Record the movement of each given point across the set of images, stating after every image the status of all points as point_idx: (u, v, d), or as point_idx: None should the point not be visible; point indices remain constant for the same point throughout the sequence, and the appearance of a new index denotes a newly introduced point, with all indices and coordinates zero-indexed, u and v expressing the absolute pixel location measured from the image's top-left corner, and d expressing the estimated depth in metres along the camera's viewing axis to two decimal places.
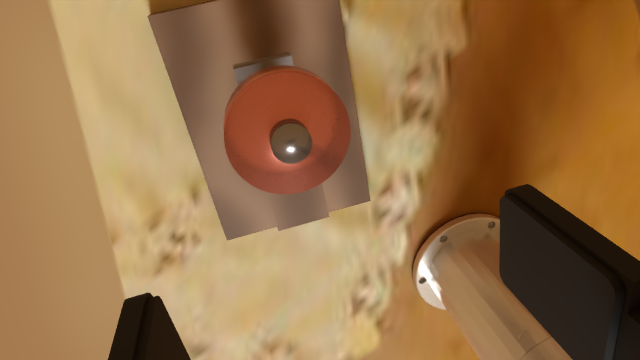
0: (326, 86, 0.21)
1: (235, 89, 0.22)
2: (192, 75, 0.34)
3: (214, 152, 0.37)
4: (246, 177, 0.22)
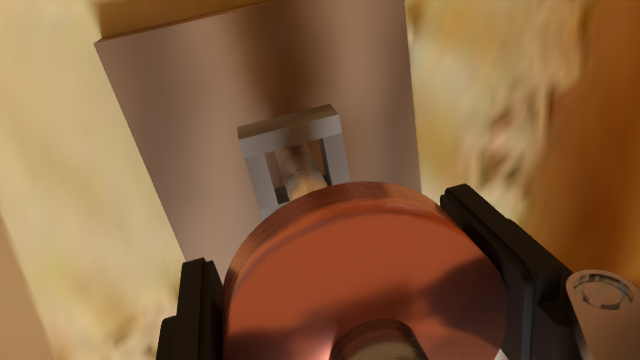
0: (471, 248, 0.09)
1: (248, 238, 0.10)
2: (172, 135, 0.21)
3: (208, 243, 0.24)
4: None
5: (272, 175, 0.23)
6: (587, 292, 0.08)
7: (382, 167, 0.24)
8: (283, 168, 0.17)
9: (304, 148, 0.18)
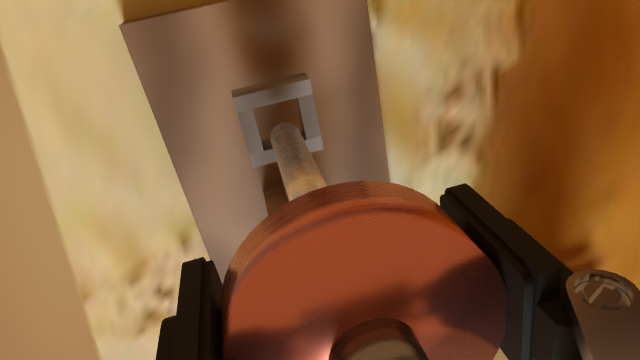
0: (470, 247, 0.09)
1: (248, 238, 0.10)
2: (179, 100, 0.26)
3: (208, 193, 0.29)
4: None
5: (261, 136, 0.28)
6: (587, 292, 0.08)
7: (352, 131, 0.29)
8: (282, 167, 0.17)
9: (303, 147, 0.18)
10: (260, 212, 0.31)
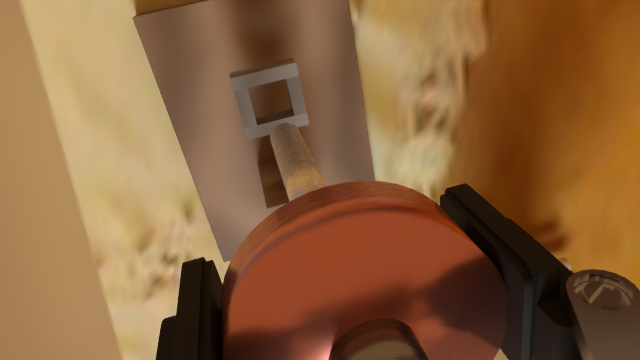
0: (471, 248, 0.09)
1: (248, 238, 0.10)
2: (184, 84, 0.30)
3: (209, 167, 0.33)
4: None
5: (256, 116, 0.32)
6: (587, 292, 0.08)
7: (337, 112, 0.33)
8: (282, 168, 0.17)
9: (304, 148, 0.18)
10: (255, 185, 0.34)
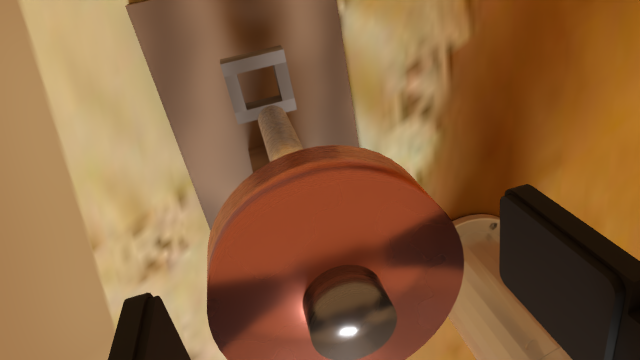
0: (427, 200, 0.10)
1: (230, 196, 0.11)
2: (176, 71, 0.31)
3: (201, 153, 0.34)
4: None
5: (246, 103, 0.33)
6: None
7: (325, 99, 0.34)
8: (268, 145, 0.18)
9: (288, 127, 0.19)
10: (246, 170, 0.36)
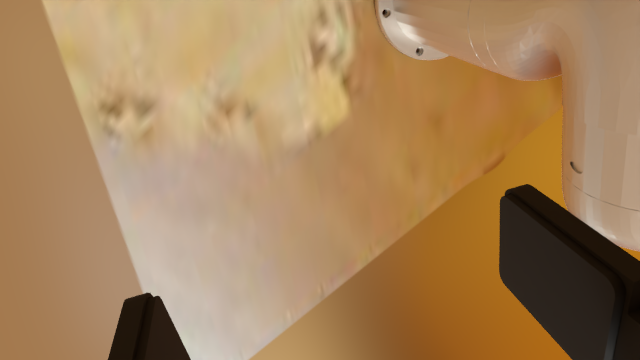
0: None
1: None
2: None
3: None
4: None
5: None
6: None
7: None
8: None
9: None
10: None
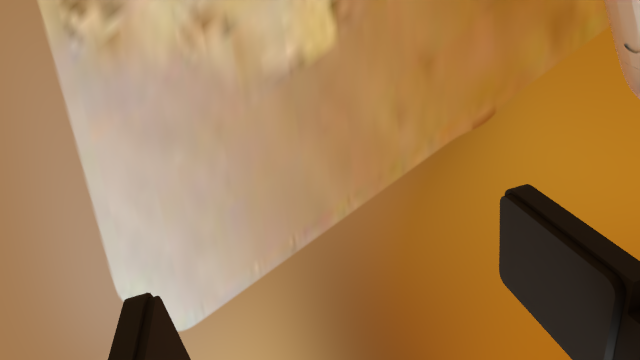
0: None
1: None
2: None
3: None
4: None
5: None
6: None
7: None
8: None
9: None
10: None
